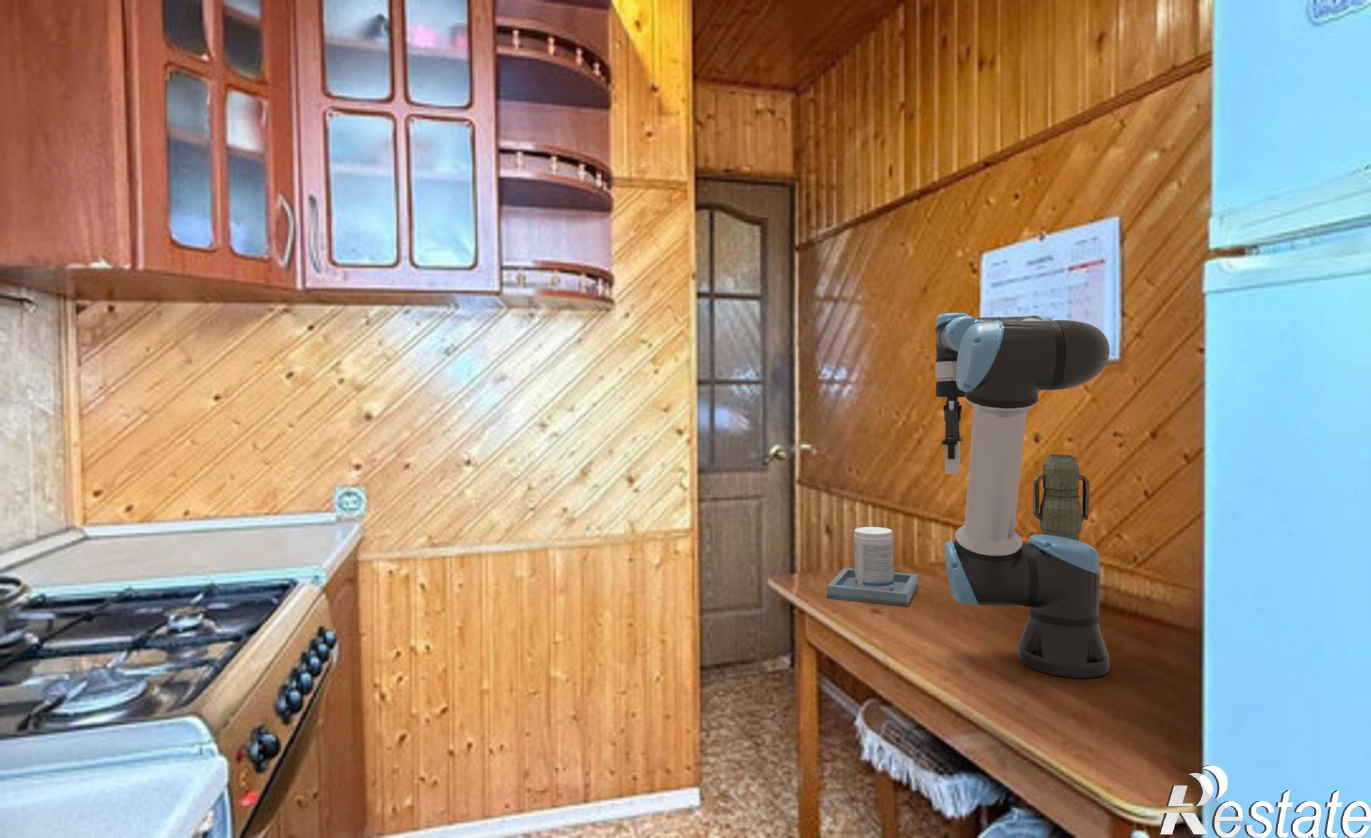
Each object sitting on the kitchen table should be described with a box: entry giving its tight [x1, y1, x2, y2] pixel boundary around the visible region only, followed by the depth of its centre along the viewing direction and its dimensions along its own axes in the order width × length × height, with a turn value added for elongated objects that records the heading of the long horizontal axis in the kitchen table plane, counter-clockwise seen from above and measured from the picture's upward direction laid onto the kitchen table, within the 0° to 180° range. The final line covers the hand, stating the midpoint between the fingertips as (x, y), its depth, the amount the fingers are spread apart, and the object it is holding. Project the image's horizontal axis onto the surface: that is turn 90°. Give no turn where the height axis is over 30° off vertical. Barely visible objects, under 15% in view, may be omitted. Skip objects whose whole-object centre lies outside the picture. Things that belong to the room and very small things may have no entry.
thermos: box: [1032, 454, 1090, 541], centre depth 174 cm, size 9×12×35 cm
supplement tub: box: [853, 526, 895, 590], centre depth 185 cm, size 10×10×15 cm
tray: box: [826, 567, 919, 607], centre depth 186 cm, size 19×19×3 cm
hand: (952, 471), depth 173 cm, fingers open, 13 cm apart
